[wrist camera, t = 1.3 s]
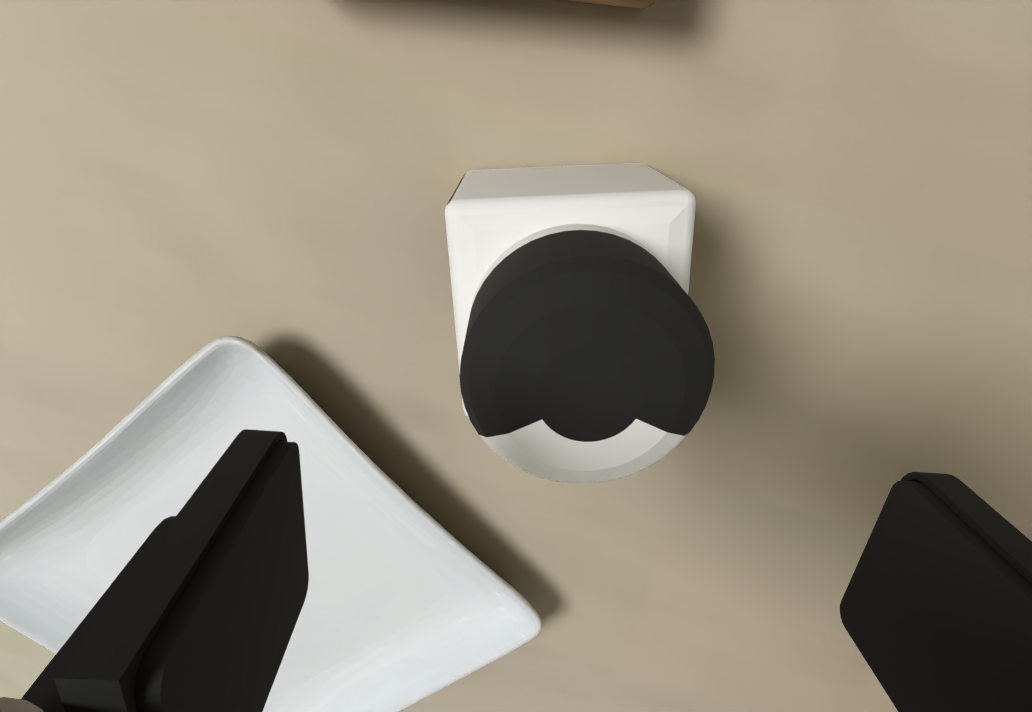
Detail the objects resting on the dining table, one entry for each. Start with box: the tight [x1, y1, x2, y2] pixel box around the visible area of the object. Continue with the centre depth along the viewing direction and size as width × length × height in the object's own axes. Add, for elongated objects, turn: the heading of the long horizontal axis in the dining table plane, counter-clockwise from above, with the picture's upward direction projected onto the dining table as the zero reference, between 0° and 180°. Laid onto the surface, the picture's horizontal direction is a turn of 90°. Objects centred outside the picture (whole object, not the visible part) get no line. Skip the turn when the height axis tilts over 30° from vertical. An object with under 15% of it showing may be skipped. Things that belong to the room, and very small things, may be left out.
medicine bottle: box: [445, 163, 715, 483], centre depth 19 cm, size 7×7×12 cm
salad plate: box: [0, 336, 542, 712], centre depth 30 cm, size 21×21×3 cm
